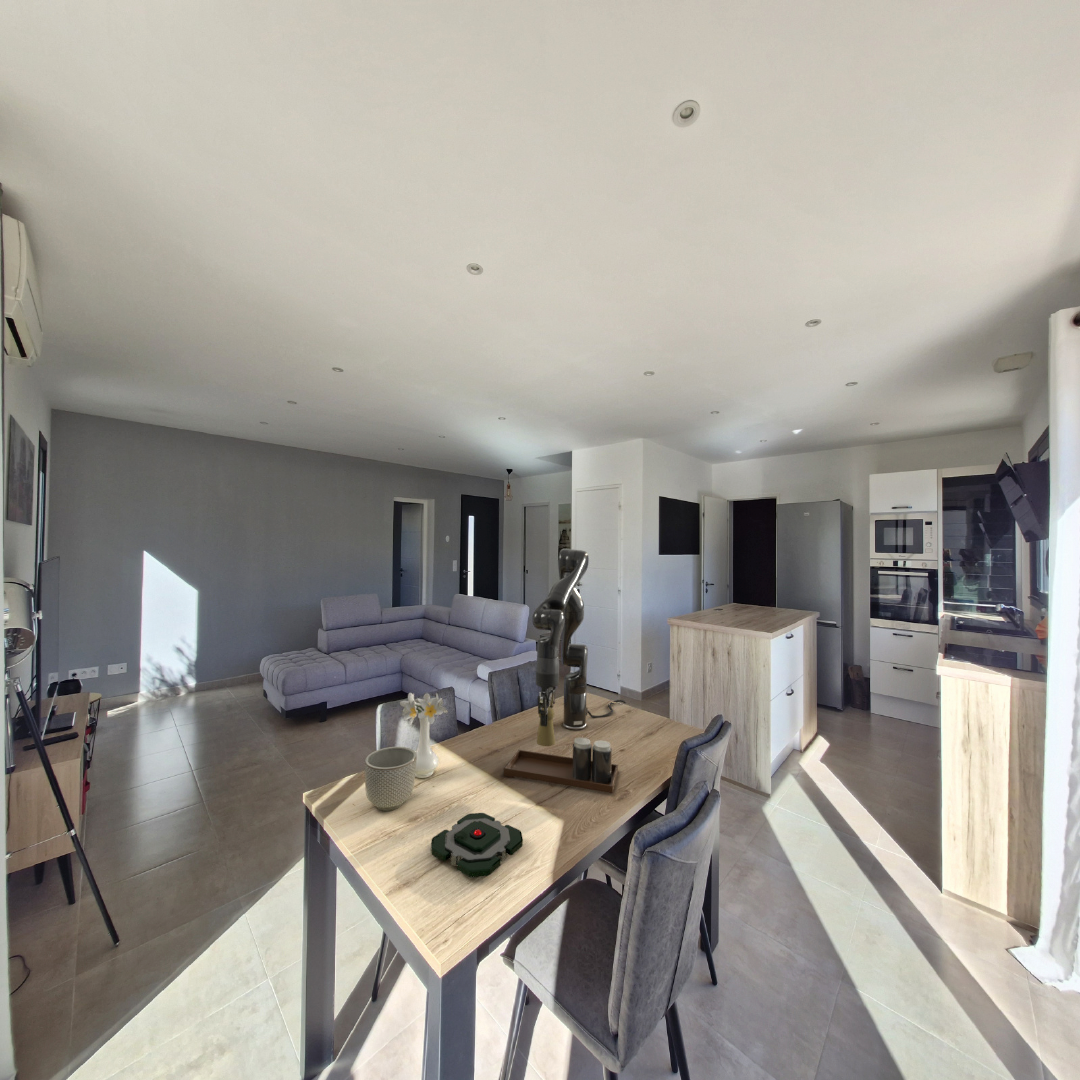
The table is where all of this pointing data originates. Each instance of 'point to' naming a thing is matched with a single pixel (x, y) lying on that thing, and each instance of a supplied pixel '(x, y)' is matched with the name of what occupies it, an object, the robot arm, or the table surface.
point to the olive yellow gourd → (546, 731)
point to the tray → (553, 770)
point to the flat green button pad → (476, 844)
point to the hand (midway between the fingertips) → (546, 722)
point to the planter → (390, 776)
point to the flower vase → (424, 730)
